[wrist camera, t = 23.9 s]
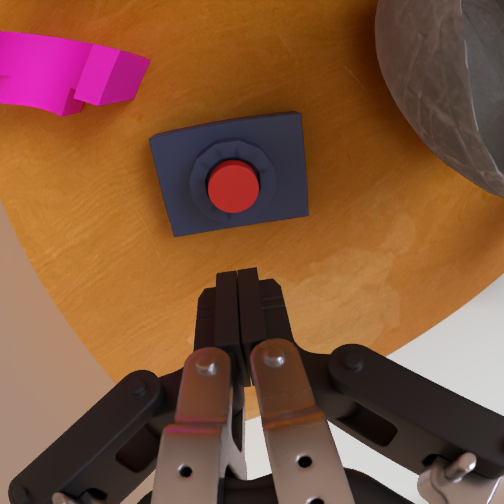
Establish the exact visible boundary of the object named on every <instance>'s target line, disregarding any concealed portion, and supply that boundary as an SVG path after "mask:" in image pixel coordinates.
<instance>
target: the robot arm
mask: <svg viewBox="0 0 504 504" xmlns="http://www.w3.org/2000/svg"><path fill="white" fill-rule="evenodd" d="M237 272H238V276H237ZM237 272H236V271H229V272H222V273H217V275H216V287H213V288H205V289H204V291H203V292H202V294H201V295H200V297H199V298H198V307H197V309H198V311H197V319H196V328H195V339H194V350H193V353H192V354H190V355H189V356H188V358H187V359H186V361H185V363H184V367H183V368H181V369H179V370H178V371H175V372H173V373H170V374H167V375H164V376H161V377H159V378H158V377H157V376H156V375H155V374H154V373H153V372H151V371H147V370H138V371H134V372H132V373H130V374H128V375H127V376H126V377H124V378H123V379H122V380H121V381H120V382H119V383H118V384H117V385H116V386H115V387H114V388H113V389H111V390H110V391H109V392H108V393H107V394H106V395H105V396H104V397H103V398H102V399H101V400H99V401H98V402H97V403H96V404H95V405H94V406H93V407H92V408H91V409H90V410H89V411H87V412H86V413H85V414H84V415H83V416H82V417H81V418H80V419H79V420H78V421H77V422H75V423H74V424H73V425H72V426H71V427H70V428H69V429H68V430H67V431H66V432H64V434H62V435H61V436H60V437H59V438H58V439H57V440H56V441H55V442H54V443H52V444H51V446H49V447H48V448H47V449H46V450H45V451H44V452H43V453H41V454H40V455H39V456H38V457H37V458H36V459H35V460H34V461H33V462H32V463H31V464H29V465H28V466H27V467H26V468H25V469H24V470H23V471H22V472H21V473H19V474H18V475H17V476H16V477H15V478H14V479H13V480H12V482H11V483H10V485H9V490H8V495H9V501H10V503H11V504H120V503H121V502H122V501H123V500H124V499H125V498H126V497H127V496H128V495H129V494H130V493H131V492H132V491H133V490H134V489H136V487H137V486H139V485H140V484H141V483H142V481H144V480H145V479H146V478H147V477H148V476H149V475H150V474H151V472H153V471H154V470H155V469H156V472H155V478H154V485H153V490H152V491H150V492H149V493H148V494H146V495H145V496H144V497H143V498H142V499H141V500H140V501H139V502H138V503H137V504H415V503H413V502H411V501H409V500H407V499H406V498H404V497H402V496H401V495H399V494H397V493H396V492H394V491H393V490H391V489H389V488H388V487H386V486H385V485H383V484H381V483H380V482H378V481H377V480H375V479H374V478H372V477H370V476H369V475H367V474H364V473H362V472H359V471H357V470H354V469H349V468H345V467H343V466H342V463H341V460H340V457H339V454H338V451H337V448H336V445H335V442H334V439H333V437H332V433H331V431H330V428H329V425H328V422H327V420H328V421H330V422H331V423H332V424H334V425H335V426H337V427H339V428H340V429H342V430H343V431H345V432H346V433H348V434H349V435H351V436H353V437H354V438H356V439H357V440H359V441H360V442H362V443H364V444H365V445H367V446H369V447H370V448H372V449H374V450H375V451H377V452H379V453H380V454H382V455H384V456H385V457H387V458H389V459H391V460H392V461H394V462H396V463H398V464H399V465H401V466H403V467H405V468H407V469H408V470H410V471H412V472H414V473H416V474H418V475H419V478H418V482H417V487H418V492H419V494H420V495H421V496H422V497H423V498H424V499H425V500H426V501H428V502H429V504H489V503H490V501H491V499H492V497H493V495H494V493H495V491H496V489H497V487H498V485H499V483H500V480H501V479H502V477H503V476H504V416H502V415H500V414H498V413H496V412H493V411H492V410H489V409H487V408H485V407H483V406H481V405H479V404H477V403H475V402H473V401H471V400H469V399H466V398H464V397H463V396H460V395H458V394H456V393H454V392H452V391H450V390H448V389H446V388H444V387H442V386H440V385H438V384H436V383H434V382H432V381H430V380H428V379H426V378H424V377H422V376H421V375H419V374H417V373H414V372H413V371H411V370H409V369H407V368H405V367H403V366H401V365H399V364H397V363H395V362H393V361H392V360H390V359H388V358H386V357H384V356H382V355H380V354H378V353H376V352H374V351H373V350H371V349H369V348H367V347H365V346H363V345H359V344H346V345H342V346H340V347H338V348H336V349H335V350H334V351H333V352H332V353H331V354H317V353H311V352H308V351H305V350H303V349H302V348H300V347H299V346H298V345H297V344H296V343H295V341H294V339H293V336H292V331H291V327H290V323H289V319H288V315H287V310H286V307H285V302H284V298H283V294H282V290H281V286H280V285H279V284H278V283H277V282H276V281H275V280H274V279H273V278H272V279H266V280H259V279H258V273H257V267H255V268H248V269H242V270H238V271H237ZM250 377H251V380H252V384H253V386H255V389H256V394H257V399H258V404H259V409H260V414H261V419H262V420H261V421H262V427H263V432H264V437H265V442H266V447H267V451H268V456H269V461H270V465H271V470H272V474H269V475H266V476H263V477H260V478H257V479H254V480H247V467H246V461H245V404H244V403H245V397H244V387H250V386H251V381H250Z"/></svg>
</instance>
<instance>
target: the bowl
mask: <svg viewBox="0 0 504 504" xmlns="http://www.w3.org/2000/svg"><path fill="white" fill-rule="evenodd" d="M375 43H376V53H377V58H378V62H379V65H380V69H381V73H382V75H383V78H384V80H385V83H386V85H387V87H388V89H389V91H390V93H391V95H392V97H393V99H394V101H395V103H396V105H397V106H398V108H399V109H400V111H401V112H402V114H403V115H404V117H405V118H406V120H407V121H408V123H409V124H410V125H411V126H412V128H413V129H414V130H415V132H416V133H417V135H418V136H419V137H420V139H421V140H422V141H423V142H424V143H425V144H426V145H427V146H428V147H429V148H430V150H431V151H432V152H433V153H434V154H435V155H436V156H437V157H439V158H440V159H441V160H442V161H443V162H444V163H446V164H447V165H448V166H450V167H451V168H452V169H454V170H455V171H457V172H458V173H460V174H461V175H462V176H464V177H465V178H467V179H468V180H470V181H471V182H473V183H474V184H476V185H477V186H479V187H480V188H482V189H484V190H486V191H488V192H489V193H492V194H494V195H497V196H499V197H502V198H504V0H378V3H377V10H376V17H375Z"/></svg>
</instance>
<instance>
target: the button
mask: <svg viewBox="0 0 504 504" xmlns="http://www.w3.org/2000/svg"><path fill="white" fill-rule="evenodd" d="M258 192H259V185H258V181H257V178H256V175H255V172H254V171H253V169H252V168H251V167H250V166H249V165H248V164H246V163H245V162H242V161H239V160H227V161H224V162H222V163H220V164H219V165H217V166H216V167H215V168H214V170H213V171H212V173H211V175H210V179H209V185H208V194H209V197H210V200H211V201H212V203H213V204H214V205H215V206H216V207H217V208H219V209H220V210H222V211H225V212H230V213H236V212H241V211H244V210H246V209H247V208H249V207H250V206H251V205H252V204H253V203H254V202H255V200H256V199H257V196H258Z"/></svg>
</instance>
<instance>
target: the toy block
mask: <svg viewBox="0 0 504 504" xmlns="http://www.w3.org/2000/svg"><path fill="white" fill-rule="evenodd" d="M149 62H150V59H147V58H144V57H141V56H138V55H134V54H131V53H128V52H125V51H121V50H117V49H113V48H109V47H105V46H101V45H96V44H89V43H84V42H79V41H74V40H68V39H62V38H56V37H50V36H43V35H35V34H26V33H16V32H2V31H0V103H3V104H16V105H25V106H31V107H36V108H40V109H44V110H47V111H50V112H53V113H55V114H57V115H59V116H61V117H63V116H67V115H70V114H74V113H78V112H81V109H82V105H83V102H87V103H90V104H94V105H97V106H101V105H106V104H111V103H116V102H122V101H128V100H134V97H135V95H136V92H137V90H138V87H139V85H140V83H141V80H142V78H143V76H144V73H145V71H146V69H147V67H148V65H149Z"/></svg>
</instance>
